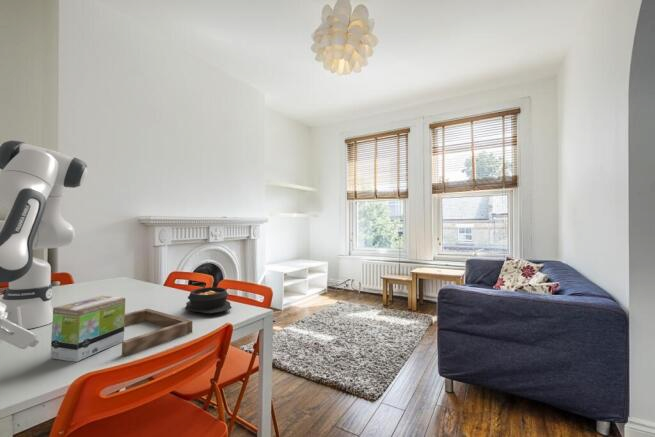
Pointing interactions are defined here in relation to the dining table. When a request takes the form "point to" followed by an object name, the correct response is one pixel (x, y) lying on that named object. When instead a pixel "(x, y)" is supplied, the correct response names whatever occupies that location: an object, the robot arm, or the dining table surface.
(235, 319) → the dining table surface
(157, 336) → the dock
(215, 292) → the casserole
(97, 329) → the tea box
